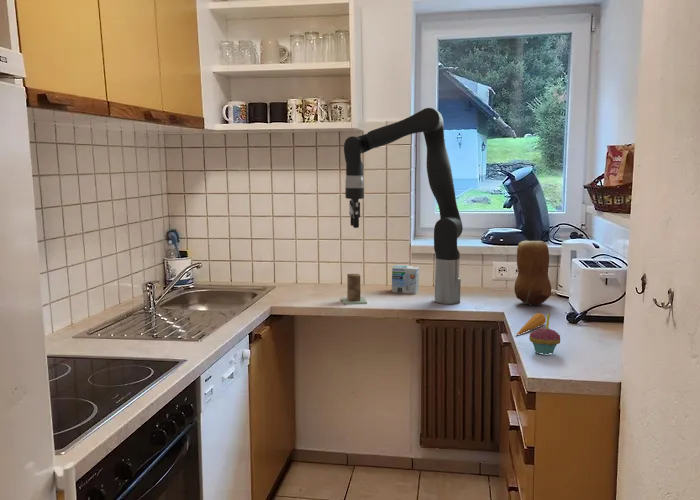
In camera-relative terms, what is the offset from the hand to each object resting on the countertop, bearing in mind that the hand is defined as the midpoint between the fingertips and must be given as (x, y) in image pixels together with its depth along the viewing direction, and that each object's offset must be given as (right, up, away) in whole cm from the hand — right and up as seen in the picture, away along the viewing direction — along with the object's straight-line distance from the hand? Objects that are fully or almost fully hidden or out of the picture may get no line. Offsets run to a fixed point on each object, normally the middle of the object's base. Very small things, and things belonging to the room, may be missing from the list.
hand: (354, 226), depth 242 cm
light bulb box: (+22, -27, +9) cm, 36 cm away
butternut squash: (+68, -31, -14) cm, 76 cm away
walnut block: (0, -29, -9) cm, 30 cm away
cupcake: (+54, -39, -72) cm, 98 cm away
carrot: (+56, -36, -48) cm, 82 cm away
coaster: (0, -30, -9) cm, 31 cm away
